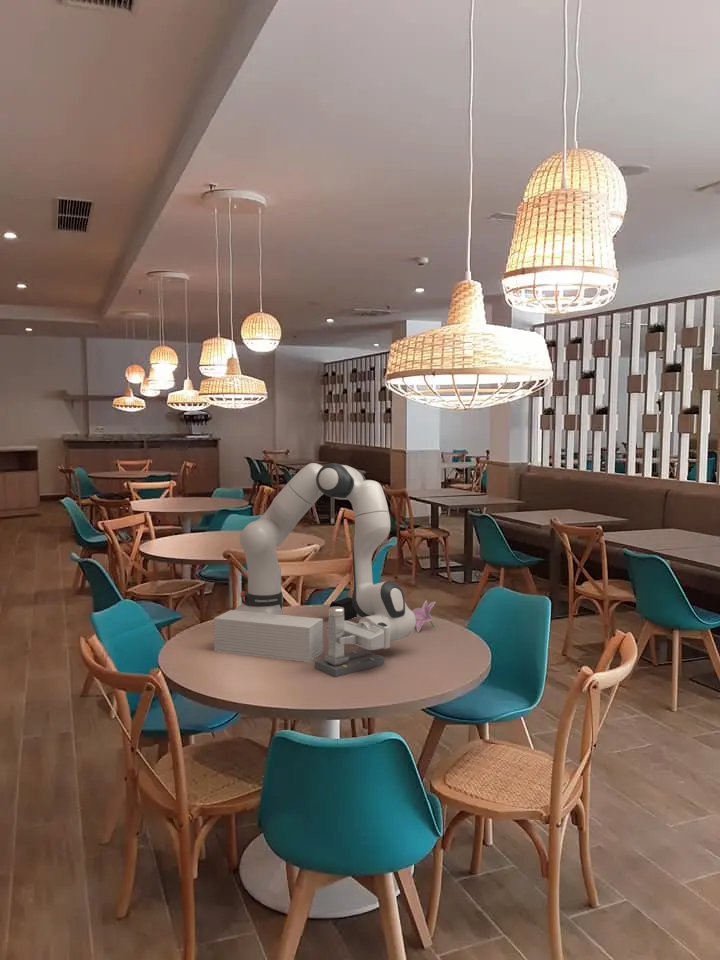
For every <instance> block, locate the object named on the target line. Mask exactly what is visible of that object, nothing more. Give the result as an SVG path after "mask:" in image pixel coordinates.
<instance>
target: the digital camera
mask: <svg viewBox="0 0 720 960" xmlns="http://www.w3.org/2000/svg"><path fill="white" fill-rule="evenodd" d="M335 606H338V607H343V608H344V621H347V620H349V619H351V620H352V618H353V619H355V618H354V617H356V618H357V617H358V614H357V613H356V611H355V610H354V608H353V605H352V597H349V596H348V597H345V598H341V599H339V600H337V601H336V600H335V601H331V603H330V605H329V608H330V607H335ZM349 621H350V620H349Z"/></svg>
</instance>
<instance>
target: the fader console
mask: <svg viewBox="0 0 720 960" xmlns="http://www.w3.org/2000/svg"><path fill="white" fill-rule="evenodd" d="M344 655H346V656H348V657H349V662H347V663H343V664H339V665H335V666H334V665H332V664H330V663H327V662H325V661H324V658H322V659H317V660H314V668H315V669H316V668H317V670H319V671H321V670H322V671H321V672H323V671H324V672H323V673H325V672H326V673H325V674H328V675H330V676H332V675H333V677H335V678H337V677H341V676H346V675H349V674H352V673H356V672H359V671H363V670H367V669H370V668H374V667H378V665H379V666H381V664H382V665H385V656H382V655H379V654H377V653H375V652H372V651H370V650H367V649H364V648H362V649H359V650H353V651H351V652H350V651H349V652H346V653H345V652H344Z"/></svg>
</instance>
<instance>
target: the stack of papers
mask: <svg viewBox="0 0 720 960" xmlns="http://www.w3.org/2000/svg"><path fill="white" fill-rule="evenodd" d="M323 625H324V619H323V618H318V617H309V616H298V615H297V616H296V615H290V614H289V615H286V614H282V615H279V614H268V613H258V612H248V611H237V610H235V609H230V610H228V611H226V612H224V613H221V614H219V615H217V616H215V617H214V618H213V627H214V628H213V630H214V631H213V633H214V634H213V639H214V640H213V641H214V643H213V644H214V645H213V647H214V652H216V651H220V652H219V653H224V652H226V654H233V653H235V655H241V654H243V655H242V656H250V655H254V656H253V657H258V656H263V657H262V658H267V657H271V658H270V659H275V658H276V660H284V659H285V661H292V660H296V661H295V662H301V661H304V662H303V663H309V662H310V661H311V662H312V661H314V660H315V659H316V658H317V657H318V656H320V655H321V654H322V653H323V652H324V638H323V637H324V635H323V634H324V632H323V630H324V626H323ZM319 654H320V655H319ZM314 658H315V659H314ZM311 662H310V663H311Z"/></svg>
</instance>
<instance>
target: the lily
mask: <svg viewBox="0 0 720 960" xmlns="http://www.w3.org/2000/svg"><path fill="white" fill-rule="evenodd" d="M435 604H436V600H435V601H432V602H430V603H429V604H428V600H427V599H425V601H424V603H423V605H422V607H415V608H413V609H412V610H411V611H412V612H413V613H414V615H415V618H416V626H415V628H416V632H417V633H419V632H420V630H421V629H422V627H423V625H424V623H425V622H430V623H431V625H432V627H433V628H434V627H435V626H434V624H433V622H432V621H433V617H432V615H431V610H433V608H434V605H435Z"/></svg>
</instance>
